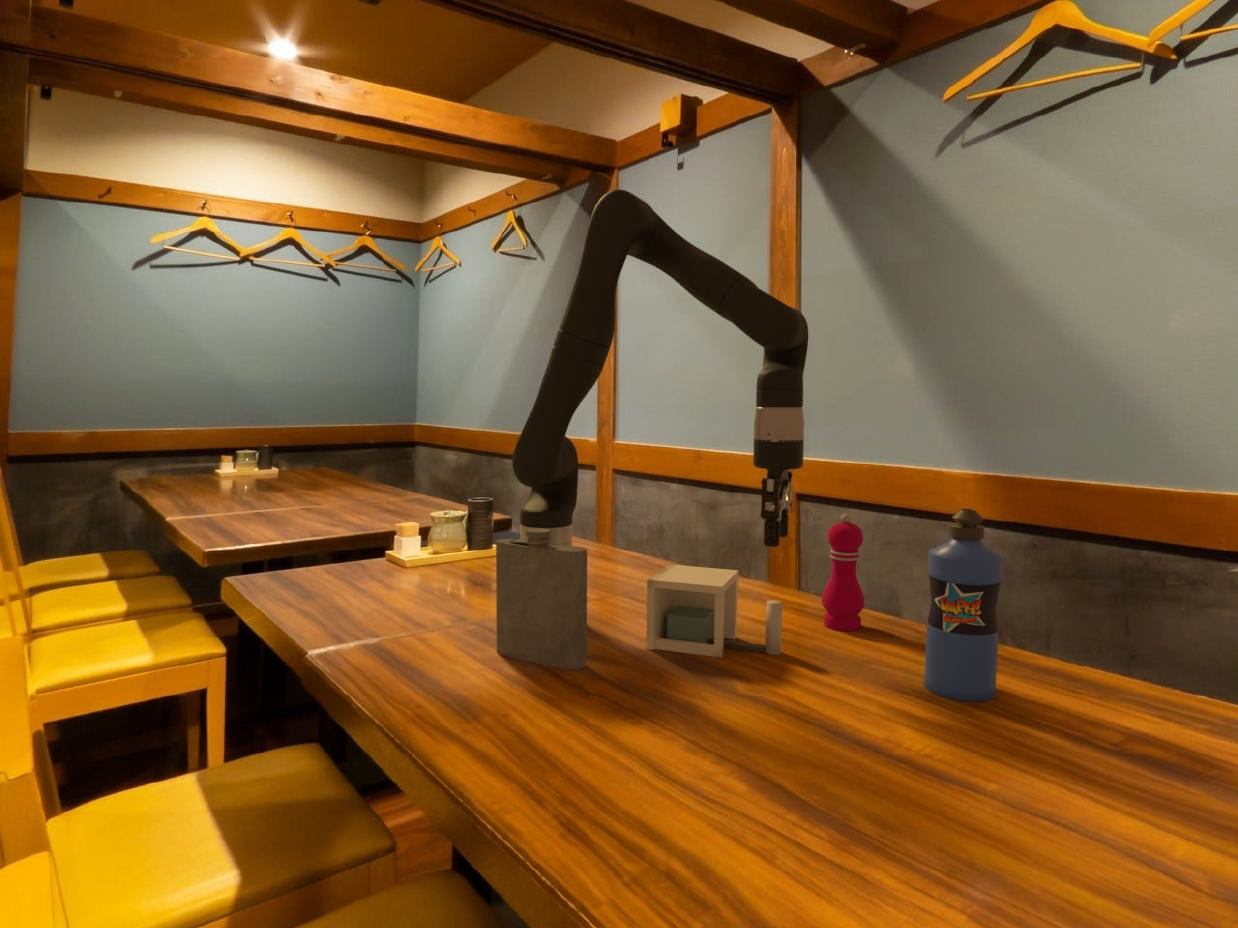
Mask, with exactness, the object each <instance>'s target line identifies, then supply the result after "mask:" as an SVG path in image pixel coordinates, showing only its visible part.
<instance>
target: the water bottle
mask: <svg viewBox="0 0 1238 928" xmlns="http://www.w3.org/2000/svg"><path fill="white" fill-rule="evenodd" d="M951 518H952V519H953V520H954V522H955V523H952V524H950V525H949V529H950V530H949V537H951V538H950V539H949V540H948V541H947V542H946V543H943V544H939V545H937V546H936V547H933V548H930V549H929V550H928V560H927V561H928V564H927V574H928V578H929V589H930V608H929V612H928V616H927V617H928V618H927V622H926V636H925V651H924V652H925V653H924V654H925V655H924V657H925V658H924V676H923V677H924V679H923V685H924V688H925V689H926V690H928V691H929V692H930V693H932V694H934V695H937V696H939V697H941V698H942V697H943V698H944V699H945V698H946V699H949V700H954V701H958V702H959V701H960V702H970V703H972V702H973V703H977V702H978V703H980V702H981V703H982V702H987V701H991V700H993V699H994V698H995V697H996V691H997V690H996V689H997V687H996V686H997V673H998V672H997V669H998V655H999V654H998V652H999V649H998V647H999V626H998V616H997V607H998V601H999V596H1000V590H1001V585H1002V582H1003V581H1004V579H1003V578H1004V561H1005V556H1004V555H1003V554H1001V553H1000V552H997V551H996V550H994V549H992V548H990V547H989V546H987V545H986V544H985V543H984V542H983V541H982V540H983V539H984V537H985V536H984V535H985V527H984V526H983V525H980V524H981V523H982V522H983V520H984V518H983V517H982V516H981V515H980V514H979V512H977V510H976V509H974V508H973V509H972V508H960V509H959V510H958V511H957V512H955V514H953V516H951Z"/></svg>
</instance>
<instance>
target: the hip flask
mask: <svg viewBox="0 0 1238 928" xmlns="http://www.w3.org/2000/svg"><path fill="white" fill-rule="evenodd" d="M526 536H528V537H529V539H527V540H522V539H519V538H517V539H512V538H502V539H497V540H496V541H495V548H496V549H495V552H496V553H495V554H496V555H495V558H496V560H495V561H496V562H495V564H496V565H495V568H496V569H495V570H496V571H495V572H496V575H495V576H496V577H495V578H496V580H495V581H496V583H495V584H496V585H495V586H496V587H495V588H496V592H495V593H496V596H495V597H496V601H495V602H496V654H498V655H502V656H504V657H507V658H510V659H515V660H518V661H522V662H527V663H530V664H531V663H532V664H536V665H542V666H547V667H551V668H557V669H566V670H575V671H576V670H577V671H578V670H583V669H585V668H586V667H587V663H588V662H587V661H588V660H587V657H588V655H587V653H588V652H587V649H588V648H587V645H588V641H587V640H588V636H587V635H588V628H587V627H588V549H587V548H586V547H578V546H576V547H575V546H572V547H567V546H556V545H548V543H549V540H548V539H549V538H547V536H550V530H549V529H543V528H534V529H527V530H526Z"/></svg>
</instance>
